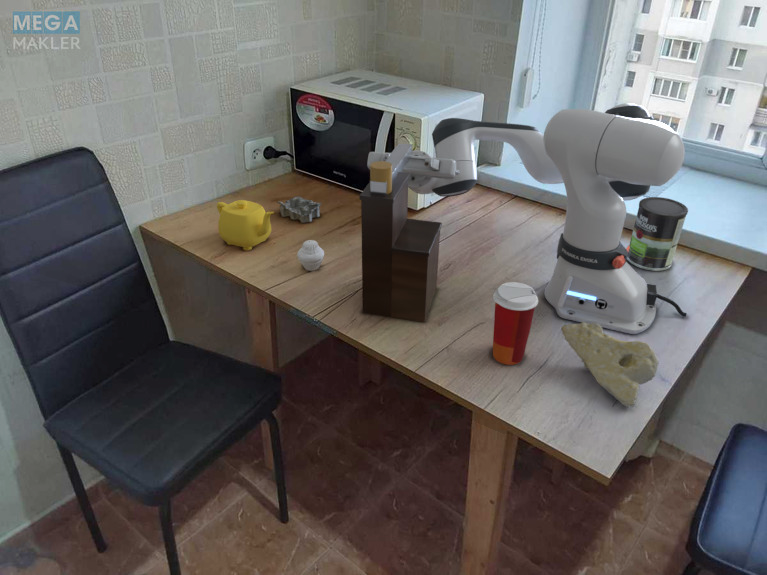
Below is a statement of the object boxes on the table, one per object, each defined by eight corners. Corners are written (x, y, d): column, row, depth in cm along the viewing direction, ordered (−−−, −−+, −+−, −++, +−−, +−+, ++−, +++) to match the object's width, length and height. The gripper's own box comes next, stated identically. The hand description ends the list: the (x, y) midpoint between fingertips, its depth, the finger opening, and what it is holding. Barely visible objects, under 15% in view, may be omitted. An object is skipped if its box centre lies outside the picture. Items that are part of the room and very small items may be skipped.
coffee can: (646, 274, 139) (661, 218, 132) (616, 254, 148) (629, 200, 140) (682, 266, 143) (698, 211, 135) (651, 247, 151) (665, 194, 143)
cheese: (664, 411, 104) (655, 326, 109) (662, 404, 98) (653, 315, 103) (571, 412, 110) (567, 332, 115) (564, 406, 104) (560, 321, 109)
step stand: (425, 323, 122) (431, 203, 109) (361, 313, 125) (359, 195, 111) (437, 288, 134) (444, 176, 120) (378, 280, 136) (378, 169, 123)
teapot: (291, 242, 152) (288, 202, 146) (262, 260, 144) (257, 219, 138) (236, 225, 159) (231, 186, 154) (205, 242, 151) (199, 202, 146)
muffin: (329, 269, 140) (328, 242, 136) (305, 276, 137) (303, 249, 134) (317, 258, 145) (316, 232, 141) (293, 265, 142) (291, 238, 138)
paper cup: (523, 342, 117) (533, 280, 110) (533, 368, 111) (544, 303, 103) (482, 343, 117) (490, 280, 109) (490, 369, 110) (498, 304, 103)
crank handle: (388, 195, 111) (389, 169, 109) (367, 193, 112) (367, 167, 110) (414, 156, 130) (415, 132, 127) (396, 154, 130) (396, 131, 128)
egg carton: (276, 215, 165) (274, 201, 163) (295, 205, 170) (294, 192, 168) (305, 225, 160) (304, 210, 158) (324, 215, 165) (323, 201, 163)
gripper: (458, 187, 143) (452, 178, 130) (374, 179, 148) (359, 169, 134) (462, 161, 143) (456, 148, 129) (377, 153, 147) (363, 140, 134)
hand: (406, 159), depth 132 cm, fingers open, 8 cm apart
